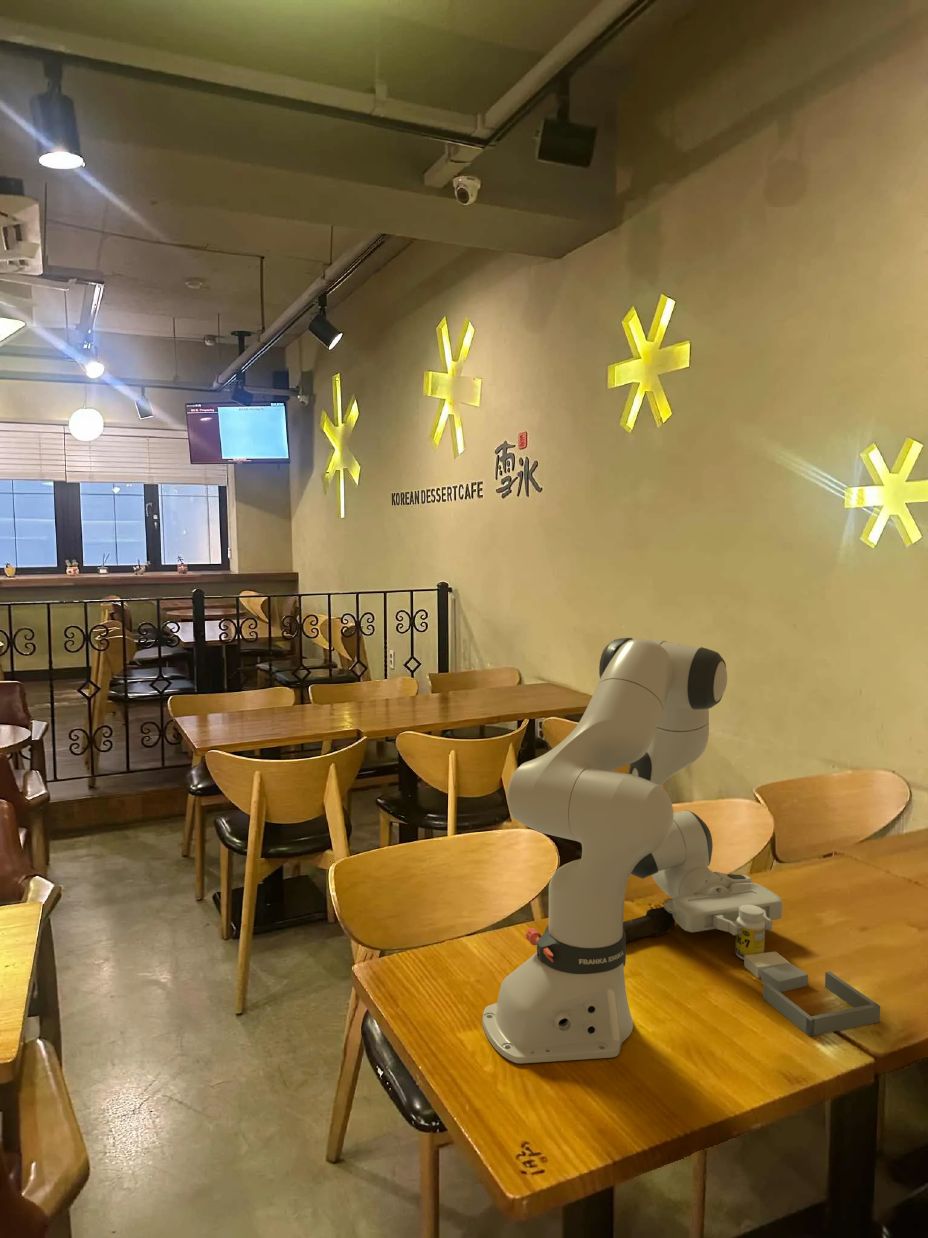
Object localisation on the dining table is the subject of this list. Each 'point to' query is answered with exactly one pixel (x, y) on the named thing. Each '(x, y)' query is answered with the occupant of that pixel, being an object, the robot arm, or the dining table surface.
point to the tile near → (784, 977)
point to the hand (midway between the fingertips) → (753, 928)
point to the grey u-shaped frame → (827, 1022)
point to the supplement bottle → (750, 931)
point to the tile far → (763, 962)
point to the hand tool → (649, 924)
